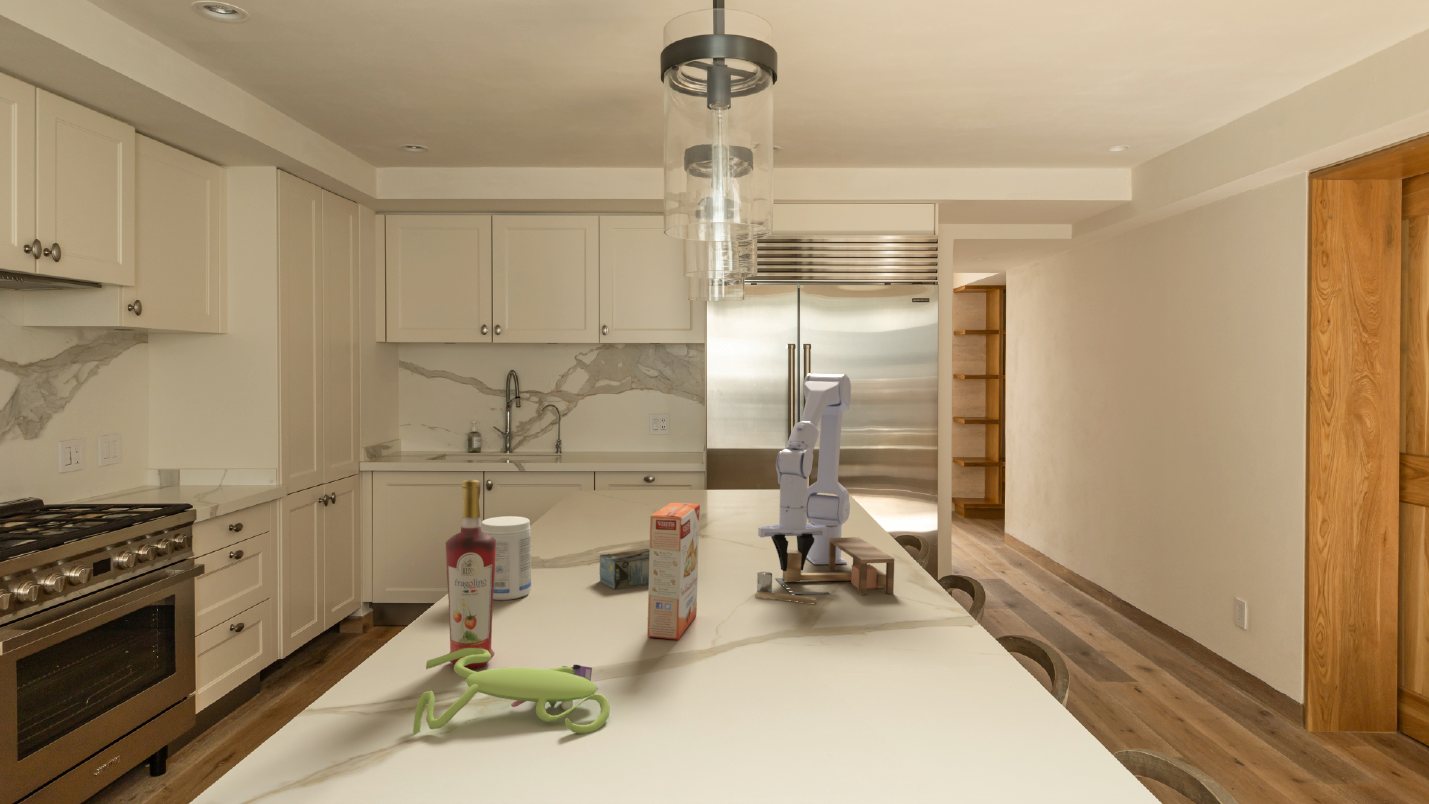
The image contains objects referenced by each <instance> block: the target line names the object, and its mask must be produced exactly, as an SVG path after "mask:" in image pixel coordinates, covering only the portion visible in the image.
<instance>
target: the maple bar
mask: <svg viewBox="0 0 1429 804" xmlns="http://www.w3.org/2000/svg"><path fill="white" fill-rule="evenodd" d="M759 597H765V598H764V599H767V598H771V599H770V600H775V599H780V600H779V601H782V600H791V601H798V602H803V603H802V604H806V603H815V602H816V603H817V597H813V596H812V597H810V596H804V595H791V594H787V593H785V594H784V593H778V592H777V593H776V592H772V593H771V592H763V591H757V590H756V591H755V593H754V598H759ZM798 602H797V603H798ZM816 603H815V604H816Z"/></svg>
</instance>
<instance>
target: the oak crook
mask: <svg viewBox="0 0 1429 804" xmlns="http://www.w3.org/2000/svg"><path fill="white" fill-rule="evenodd" d="M801 558H802V553H801V552H800V551H798V549H787V570H786V571H782V578H783V579H784V580H783V581H784V582H788V583H790V582H792V583H793V582H796V583H797V582H805V581H808V582H809V581H811V582H812V581H817V582H818V581H820V582H821V581H823V582H824V581H825V582H826V581H829V582H831V581H832V582H833V581H835V582H837V581H838V582H839V581H844V582H845V581H851V573H852V572H802V571H801ZM870 565H871V566H873V565H872V564H870ZM873 567H874V568H876V569H877V580H876V589H886V573H884V572H883V571H881V570H880V569H878V568H877V567H875V566H873Z"/></svg>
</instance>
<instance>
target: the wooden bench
mask: <svg viewBox="0 0 1429 804" xmlns="http://www.w3.org/2000/svg"><path fill="white" fill-rule="evenodd" d="M836 547H838V548H839V549H841V552H843V553H845V554H846V555H849V557H851V558H852V565H859V589H858V594H859V593H860V594H866V595H867V589H868V588H867V564H886V565H885V574H886V588H885V593H886V594H888V595H894V587H895V584H894V581H895V580H894V579H895V558H894V557H892V556H890V555H889V554H888V553H886V552H884V551H883V550H881V549H880V548H877V547H876V546H874V545H872V544H871V543H869V542H867V541H866V540H864V539H862V538H861V537H859V536H858V537H853V536H852V537H841V538H829V564H827V565H828V571H829V572H836V564H835V560H836ZM860 594H859V595H860Z"/></svg>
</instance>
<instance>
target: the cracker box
mask: <svg viewBox="0 0 1429 804" xmlns="http://www.w3.org/2000/svg"><path fill="white" fill-rule="evenodd" d="M700 507H701V505H700V504H699V503H690V502H670V503H668V504H667V505H665V506H663V507H662V508H661V509H659V510H658V511H655V512H654V513H652V514H651V515H650V520H649V548H650V552H649V584H648V596H647V599H648V600H647V601H648V602H647V604H648V605H647V637H648V638H655V639H656V638H657V639H666V640H667V639H668V640H677V641H678V640H679V639H680V638H681V637H682V635H683V634H684V633H685V631H686V629H687V628H688V627H689V626H690V625H691V623H692V622H693V620H694V619H695V618H696V617H697V612H698V611H697V609H698V607H697V606H698V605H697V604H698V603H697V602H698V601H697V600H698V578H699V577H698V575H699V574H698V573H699V538H700V536H699V535H700V534H699V533H700V511H701V509H700Z"/></svg>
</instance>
